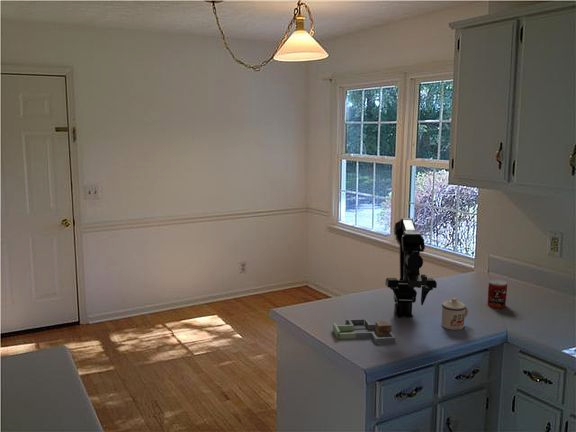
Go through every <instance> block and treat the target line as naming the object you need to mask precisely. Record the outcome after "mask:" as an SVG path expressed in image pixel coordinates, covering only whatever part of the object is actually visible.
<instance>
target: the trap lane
mask: <svg viewBox="0 0 576 432" xmlns="http://www.w3.org/2000/svg"><path fill="white" fill-rule="evenodd" d="M332 324H333V325H332V327H333V328H332V330H333V333H334V335H335V337H336V339H337V340H344V339H368V338H371V339H372V341H373V342H374V343H375V344H376V345H377V344H379V345H380V344H396V336H395V335H394V334H393V332H392V331H391V332H389V335H383V336H377V335H376V334H375V333H374V331H370V329H371V330H375V323H370V322H369V320H368V319H365V318H350V319H349V318H347V319H346V318H345V324H339V325H338V324H337V323H336V322H333V323H332ZM354 330H369V331H358V332H356V331H355V332H348V331H354ZM343 331H347V332H343Z"/></svg>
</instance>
